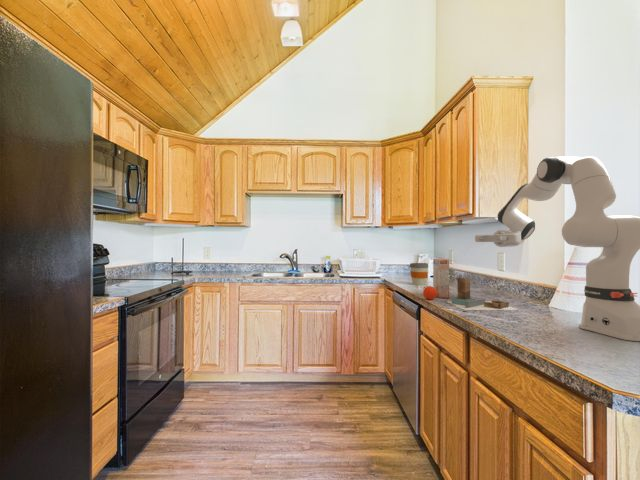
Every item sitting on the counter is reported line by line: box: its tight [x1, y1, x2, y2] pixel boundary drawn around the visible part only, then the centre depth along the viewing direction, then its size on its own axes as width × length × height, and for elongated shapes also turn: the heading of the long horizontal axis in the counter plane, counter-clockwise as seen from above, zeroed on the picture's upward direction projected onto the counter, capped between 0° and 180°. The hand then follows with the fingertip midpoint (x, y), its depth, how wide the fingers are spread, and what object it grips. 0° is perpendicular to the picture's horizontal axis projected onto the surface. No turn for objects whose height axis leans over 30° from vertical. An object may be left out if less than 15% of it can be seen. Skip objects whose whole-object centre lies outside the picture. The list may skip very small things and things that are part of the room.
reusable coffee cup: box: [409, 262, 429, 286], centre depth 228 cm, size 13×13×15 cm
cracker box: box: [432, 257, 450, 299], centre depth 178 cm, size 14×6×21 cm, turn 171°
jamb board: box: [446, 298, 519, 313], centre depth 146 cm, size 20×23×4 cm
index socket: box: [451, 296, 477, 305], centre depth 151 cm, size 8×8×2 cm
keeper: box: [484, 300, 510, 309], centre depth 143 cm, size 7×8×2 cm
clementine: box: [422, 285, 437, 301], centre depth 168 cm, size 8×7×7 cm
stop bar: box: [456, 277, 471, 300], centre depth 151 cm, size 4×4×12 cm
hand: (488, 238), depth 156 cm, fingers open, 8 cm apart
